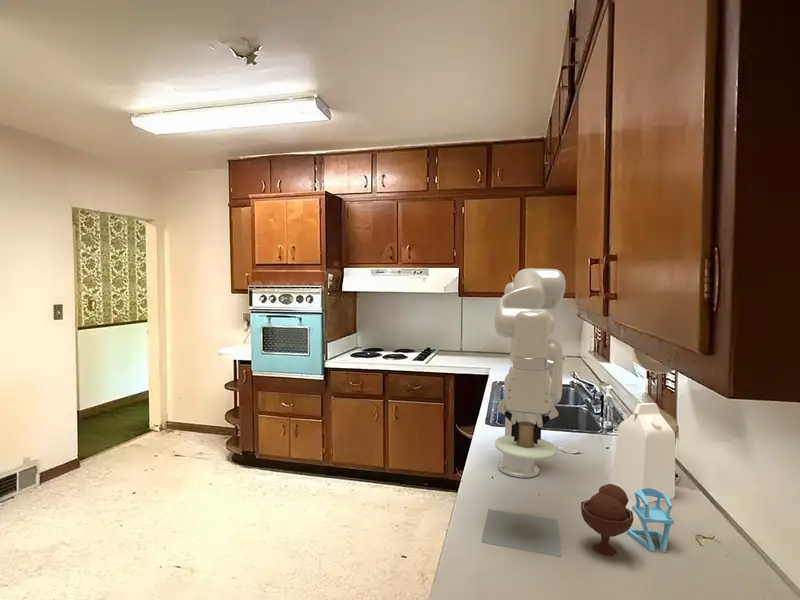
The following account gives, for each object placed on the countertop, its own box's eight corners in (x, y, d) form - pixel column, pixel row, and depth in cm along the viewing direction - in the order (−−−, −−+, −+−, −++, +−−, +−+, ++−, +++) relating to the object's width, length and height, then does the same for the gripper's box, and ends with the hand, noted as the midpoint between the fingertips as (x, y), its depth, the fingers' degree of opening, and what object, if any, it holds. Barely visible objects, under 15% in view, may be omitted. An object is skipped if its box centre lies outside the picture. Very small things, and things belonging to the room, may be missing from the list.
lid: (497, 435, 122) (498, 412, 122) (555, 442, 119) (556, 419, 118) (492, 454, 109) (493, 429, 109) (557, 463, 105) (559, 437, 105)
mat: (488, 511, 125) (488, 508, 125) (557, 522, 120) (557, 520, 120) (481, 544, 108) (481, 542, 108) (560, 559, 104) (561, 556, 104)
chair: (641, 551, 108) (644, 499, 108) (626, 532, 116) (629, 483, 116) (676, 554, 108) (680, 501, 107) (658, 534, 116) (662, 485, 116)
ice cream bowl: (586, 533, 115) (590, 471, 115) (637, 551, 108) (641, 485, 107) (570, 551, 107) (574, 485, 106) (624, 572, 100) (628, 501, 99)
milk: (642, 482, 147) (647, 398, 146) (674, 499, 136) (680, 407, 136) (610, 486, 143) (615, 399, 143) (641, 503, 133) (646, 410, 132)
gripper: (566, 364, 114) (562, 440, 115) (494, 358, 119) (491, 431, 120) (568, 369, 107) (563, 451, 108) (491, 363, 111) (488, 441, 112)
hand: (525, 440), depth 114 cm, fingers closed on lid, 4 cm apart
